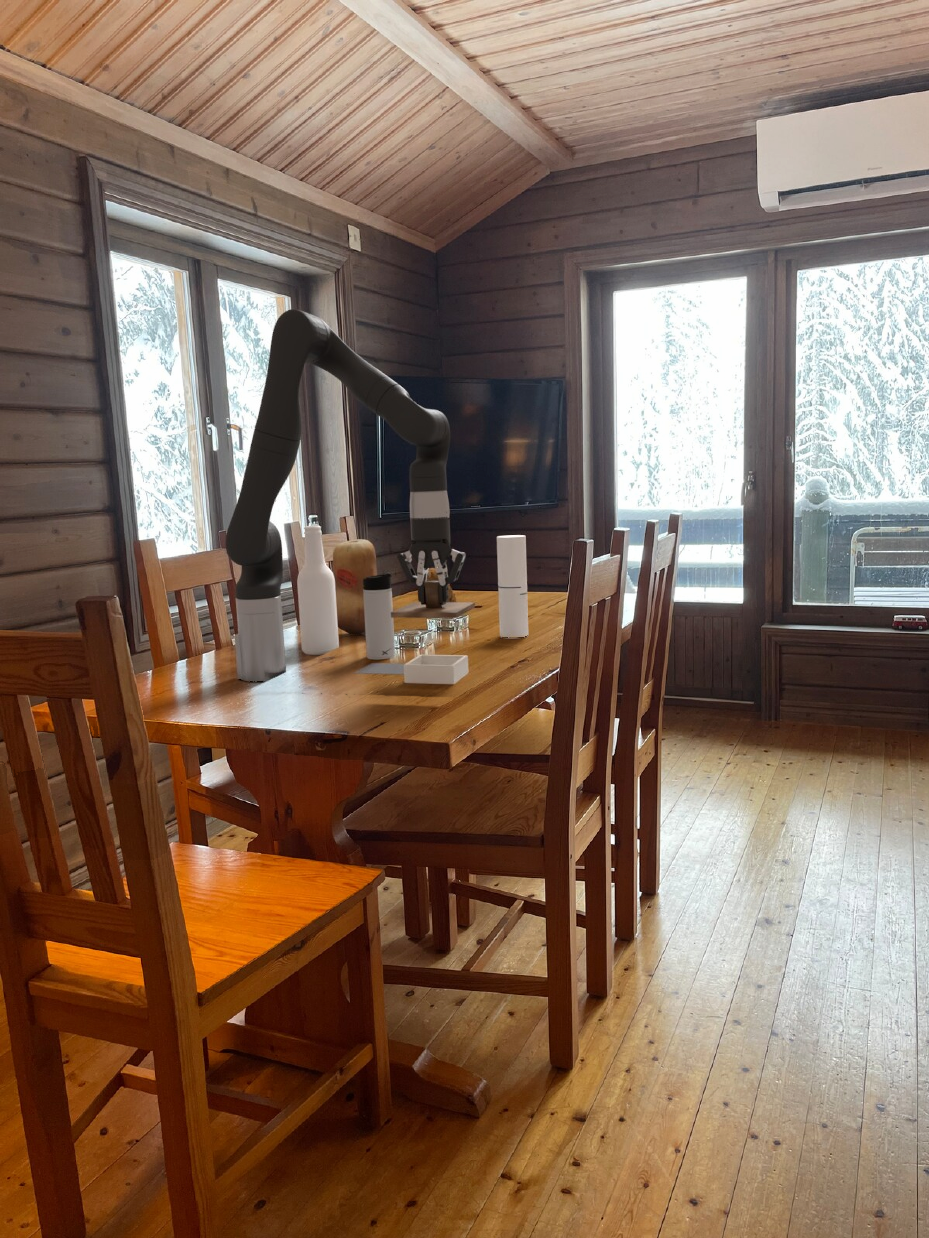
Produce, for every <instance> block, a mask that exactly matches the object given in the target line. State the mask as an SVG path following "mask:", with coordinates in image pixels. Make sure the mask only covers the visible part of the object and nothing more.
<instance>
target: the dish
mask: <svg viewBox="0 0 929 1238" xmlns="http://www.w3.org/2000/svg"><path fill="white" fill-rule="evenodd" d="M403 664H404V675H403V677H404V679H403V680H404V684H428V685H429V684H431V685H434V684H435V685H455V684H456V683H458V682H459V681H460V680H462V678H464V677H466V675H468V674H469V656H468V655H466V654H465V655H464V654H463V655H461V654H419V655H417V656H415V657H414V658H413V659H411V660H409V661H408V662H406V663H403Z"/></svg>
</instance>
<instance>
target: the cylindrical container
mask: <svg viewBox="0 0 929 1238" xmlns="http://www.w3.org/2000/svg"><path fill="white" fill-rule="evenodd" d="M526 538H527V537H526V535H523V534H522V535H521V534H516V535H515V534H514V535H510V534H509V535H498V536H496V555H497V585H498V587H497V588H498V589H497V590H498V615H499V616H498V617H499V621H498V622H499V637H500V638H502V637H508V638H507V639H510V638H509V637H524V638H526V637H525V636H527V635H528V636H529V617H528V616H529V615H528V614H529V610H528V608H529V607H528V605H529V604H528V583H527V582H528V574H527V572H528V571H527V569H528V568H527V567H528V566H527V540H526ZM528 636H527V637H528Z"/></svg>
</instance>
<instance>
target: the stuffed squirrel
mask: <svg viewBox="0 0 929 1238" xmlns="http://www.w3.org/2000/svg"><path fill="white" fill-rule="evenodd" d="M426 581H439V578H438V575H437V573H436V569H435V568H432V567H430V568H429V570H428V573H427V579H426ZM448 590H449V599H448V601H447V602H457V597H456V594H454V591H453V589H452V586H451V583H449V585H448Z"/></svg>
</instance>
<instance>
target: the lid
mask: <svg viewBox="0 0 929 1238" xmlns="http://www.w3.org/2000/svg"><path fill="white" fill-rule="evenodd" d="M439 586H440V583H439V581H426V582H425V603H426V605H421V602H419V601H417V602H416V601H414V602H411V603H408V604H406V605H404V606H402V607H400V608H397V609H395V610H393V612H391V618H393V619H395V618H396V619H397V618H398V619H399V618H401V619H402V618H404V619H405V618H406V619H407V618H408V619H409V618H412V619H415V618H416V619H418V618H419V619H422V618H423V619H424V618H425V619H432V618H433V619H436V618H438V619H457V618H459V617H460V616H462V615H464V614H466V613H468V612H470V611H471V610H473V609H474V608H476V602H471V601H469V602H468V601H467V602H466V601H465V602H464V601H463V602H462V601H461V602H446V604H444V605H440V603H439Z"/></svg>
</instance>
